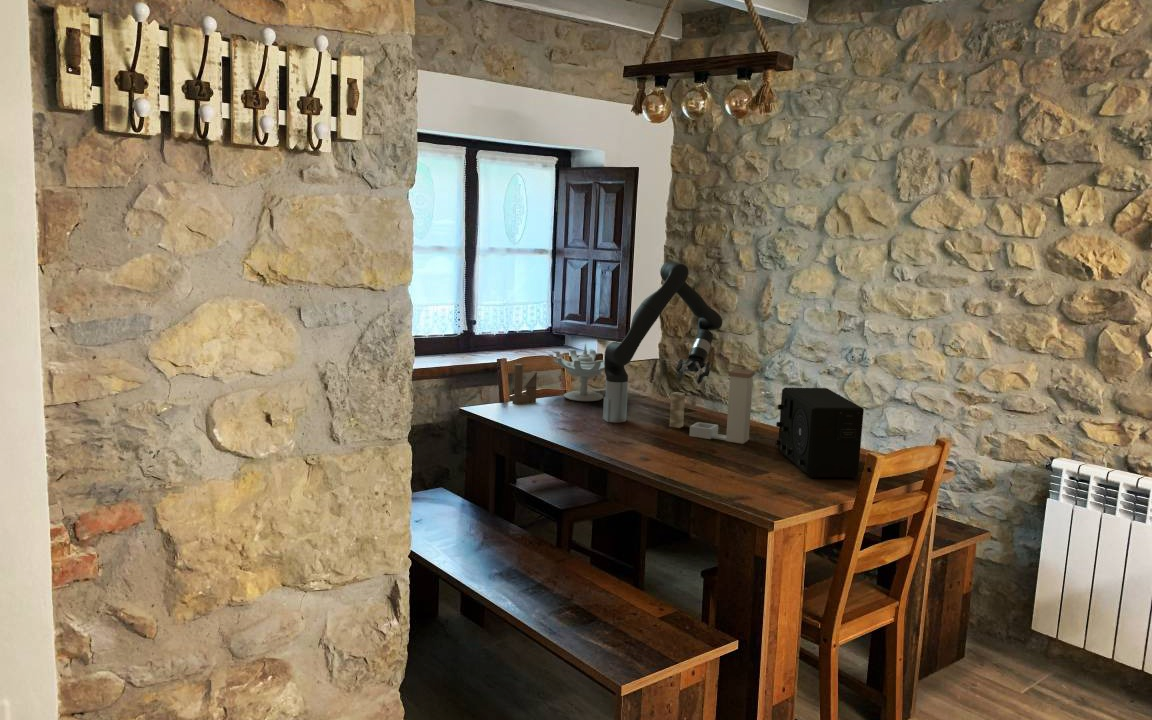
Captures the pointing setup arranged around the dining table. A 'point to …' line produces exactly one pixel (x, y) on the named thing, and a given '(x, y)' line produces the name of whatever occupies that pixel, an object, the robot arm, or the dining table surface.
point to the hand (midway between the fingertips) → (688, 381)
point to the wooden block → (524, 386)
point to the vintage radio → (820, 432)
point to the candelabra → (582, 372)
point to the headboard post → (732, 411)
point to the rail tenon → (677, 409)
